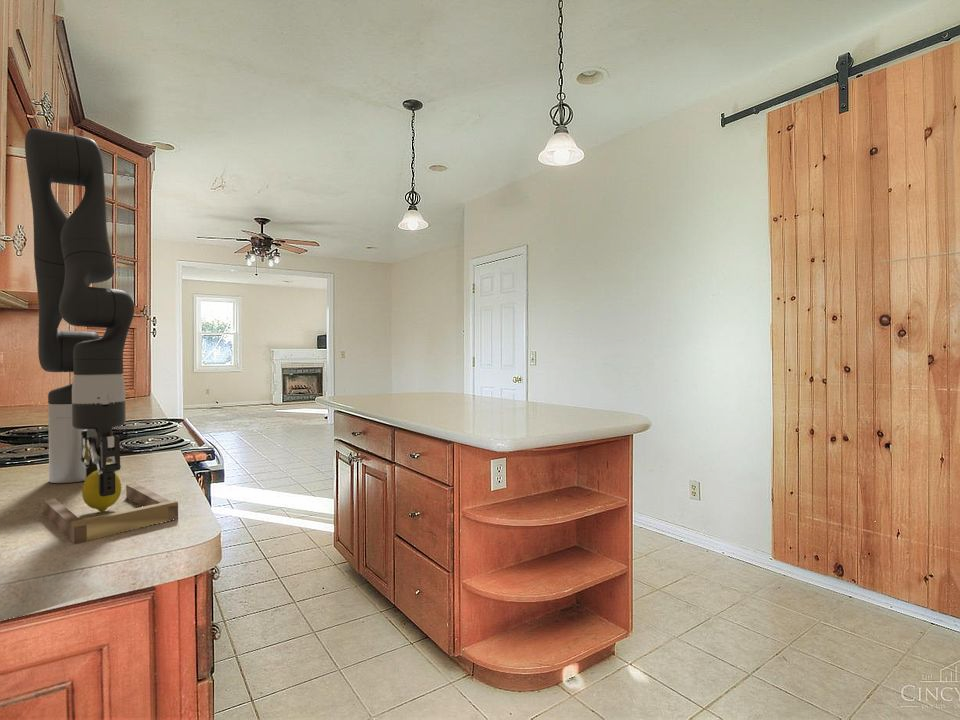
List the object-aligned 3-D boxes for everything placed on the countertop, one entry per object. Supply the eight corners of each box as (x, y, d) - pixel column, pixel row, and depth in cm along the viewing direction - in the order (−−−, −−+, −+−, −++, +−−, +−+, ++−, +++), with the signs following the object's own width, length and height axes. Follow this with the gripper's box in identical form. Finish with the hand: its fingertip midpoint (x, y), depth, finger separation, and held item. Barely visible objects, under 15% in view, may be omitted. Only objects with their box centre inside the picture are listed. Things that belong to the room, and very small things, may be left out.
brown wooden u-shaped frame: (42, 513, 88) (42, 496, 88) (135, 495, 98) (135, 480, 98) (74, 543, 74) (73, 523, 74) (178, 519, 85) (178, 501, 85)
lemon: (100, 517, 85) (99, 471, 85) (74, 515, 86) (73, 470, 86) (129, 507, 91) (128, 464, 91) (104, 506, 92) (103, 463, 92)
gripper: (62, 399, 90) (64, 489, 90) (83, 403, 81) (84, 503, 81) (113, 396, 96) (114, 481, 96) (137, 400, 86) (138, 493, 86)
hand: (100, 491), depth 88 cm, fingers open, 8 cm apart
